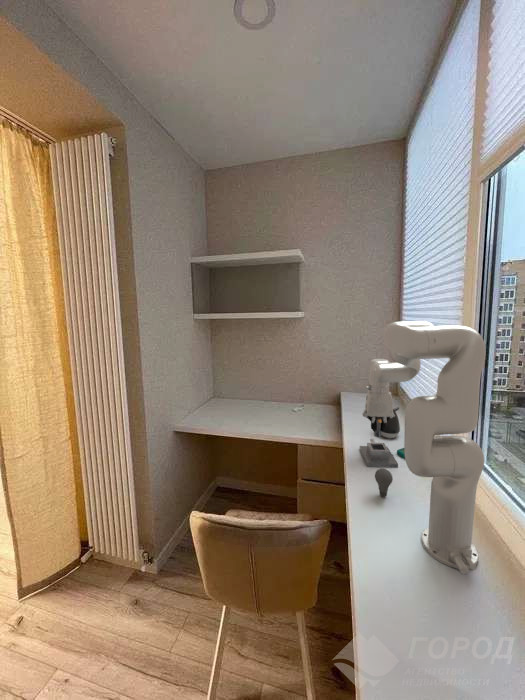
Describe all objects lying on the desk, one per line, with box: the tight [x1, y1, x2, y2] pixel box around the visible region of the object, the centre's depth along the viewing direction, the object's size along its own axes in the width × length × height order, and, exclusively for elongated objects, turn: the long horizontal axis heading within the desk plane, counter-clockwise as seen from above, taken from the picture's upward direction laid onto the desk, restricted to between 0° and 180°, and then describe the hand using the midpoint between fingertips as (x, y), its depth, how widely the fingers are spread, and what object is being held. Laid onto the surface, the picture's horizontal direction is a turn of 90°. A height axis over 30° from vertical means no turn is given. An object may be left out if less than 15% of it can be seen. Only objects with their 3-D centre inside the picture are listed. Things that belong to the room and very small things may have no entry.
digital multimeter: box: [396, 447, 405, 460], centre depth 121 cm, size 7×15×3 cm, turn 115°
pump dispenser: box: [381, 407, 401, 439], centre depth 138 cm, size 10×10×15 cm
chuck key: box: [373, 417, 382, 438], centre depth 118 cm, size 7×3×9 cm, turn 173°
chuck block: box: [359, 438, 399, 468], centre depth 120 cm, size 16×12×5 cm
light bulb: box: [374, 467, 393, 498], centre depth 95 cm, size 6×6×10 cm
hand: (378, 430), depth 118 cm, fingers closed on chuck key, 2 cm apart
